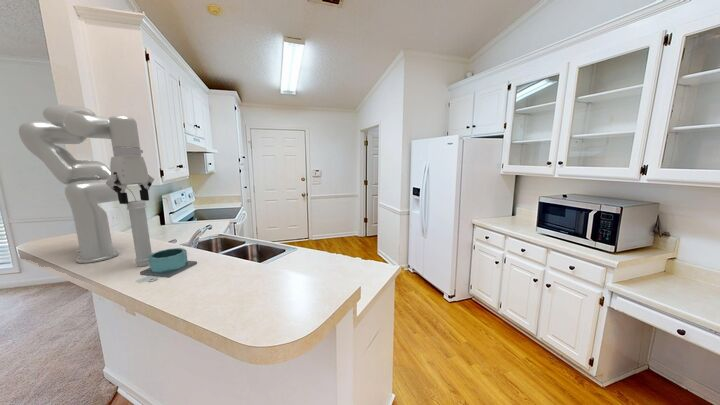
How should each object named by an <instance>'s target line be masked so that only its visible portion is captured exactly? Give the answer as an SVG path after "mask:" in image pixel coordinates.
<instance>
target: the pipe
mask: <svg viewBox="0 0 720 405" xmlns="http://www.w3.org/2000/svg"><path fill="white" fill-rule="evenodd" d="M127 189H128V190H129V192H130V193H131V194H132V195H133V197H134V200H132V201H128V204H126V210H128V213H129V214H128V215H129V221H130V225H131V226H130V227H131V233H132V238H133V245H134V253H135V257H136V258H135V259H134V261H135V265H136V267H148V266H150V265H149V259H148V256H150V255H151V254H152V253H153V252H152V247H151V239H150V232H149V225H148V220H147V213H146V209H147V204H146V201H143V200H137V198H136V196H135V194H134V192H133V191H132V190H131V189H130V188H128V186H127V187H126V190H127Z"/></svg>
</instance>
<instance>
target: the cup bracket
mask: <svg viewBox="0 0 720 405" xmlns="http://www.w3.org/2000/svg"><path fill="white" fill-rule="evenodd" d="M148 259H149V265H148V266H149V268H146V269H143V270H141V271H139V274H140V276H158V277H161V278H171V277H172V276H173V277H174V276H175V275H177V274H178V273H182V272H183V271H185V270H187V269H189V268H192V267H195V265H198V261H197V260H188V254H187V249H186V248H180V247H178V248H177V247H176V248H167V249H162V250H158V251H156V252H152V254H151V255H150V256H148Z"/></svg>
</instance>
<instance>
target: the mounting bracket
mask: <svg viewBox="0 0 720 405" xmlns="http://www.w3.org/2000/svg"><path fill="white" fill-rule="evenodd" d="M160 278H162V277H158V276H149V275H146V276H144V277H142V278H140V279H139V278H138V279H137V280H135V283H138V284H143V283H146V282H147V283H154V282H156V281H158V279H160Z"/></svg>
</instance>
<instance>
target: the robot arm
mask: <svg viewBox="0 0 720 405" xmlns="http://www.w3.org/2000/svg"><path fill="white" fill-rule="evenodd" d="M42 116H43V117H44V119H45V120H46V121H45V120H44V121H42V120H31V121H26V122H23V123H21V124H20V126H19V127H18V134H19V138H20V140H21V142H22V143H23V145H24V147H25V148H26V149H27V150H28V151H29V152H30V153H31V154H32V155H34V156H36V157H37V158H38V159H39V160H40V161H41V162H43V163H44V165H45V167H47V169H48V170H49V171H50V172H51V173H52V175H53V176H54V177H55V178H56V179H57V181H59V183H61V184H63V185H66V186H65V187H64V195H65V197H66V200H67V202H68V204H69V206H70V208H71V210H70V211H71V213H72V218H73V222H74V226H75V231H76V232H75V233H76V236H77V243H78V246H79V249H77V250H76V252H77V253H79V254H80V256H78V257H76V258H75V262H76V263H78V264H89V263H97V262H100V261H105V260H109V259H112V258H114V257H116V256H118V255H119V253H120V252H119V250H117V249H114V247H113V241H112V235H111V230H110V224H109V217H108V214H107V212H106V211H105V210H104V208H102V207H101V206H100V204H104V203H110V202H117V201H118V202H119V204H120V205H127V204H128V202H129V198H128V197H129V196H128V193H127V192H126V190H127V188H128V186H129V185H132V186H133V185H137V186H138V187H139V188H140V189H139V196H140V201H145V202H147V201H149V200H150V196H149V190H150V188H151V186H152V185H153V182H154V180H155V178H153V177H152V176H151V175H150V174H148V168H147V165H146V161H145V159H144V158H145V157H143V156H142V154H143V153H144V151H143V149H141V146H140V139H139V130H138V124H137V121H136V119H135V118H134V117H130V116H121V115H112V116H110V117H107V116H100V115H99V116H98V115H96V114H95V112H94V111H92V110H91V109H89V108H85V107H80V106H74V105H73V106H72V105H66V104H59V103H58V104H51V105H47V106H46V107H45V108H44V109H43V111H42ZM87 139H104V140H111V146H112V152H113V153H112V154H113V156H111V157H110V163H109V167H108V166H107V165H106V164H105V163H103V162H101V161H97V160H78V159H76V158H75V157H74V156H73V155H72V153H71V152H70V151H68V150H66V149H65V148H63V147H61V146H59V144H60V145H62V144H63V145H80V144H83V143H84V142H85V141H86V140H87ZM126 187H127V188H126Z"/></svg>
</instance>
